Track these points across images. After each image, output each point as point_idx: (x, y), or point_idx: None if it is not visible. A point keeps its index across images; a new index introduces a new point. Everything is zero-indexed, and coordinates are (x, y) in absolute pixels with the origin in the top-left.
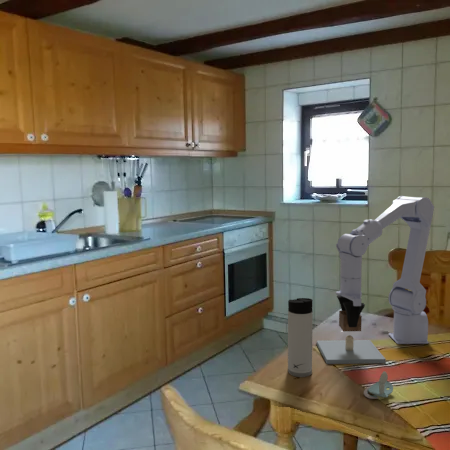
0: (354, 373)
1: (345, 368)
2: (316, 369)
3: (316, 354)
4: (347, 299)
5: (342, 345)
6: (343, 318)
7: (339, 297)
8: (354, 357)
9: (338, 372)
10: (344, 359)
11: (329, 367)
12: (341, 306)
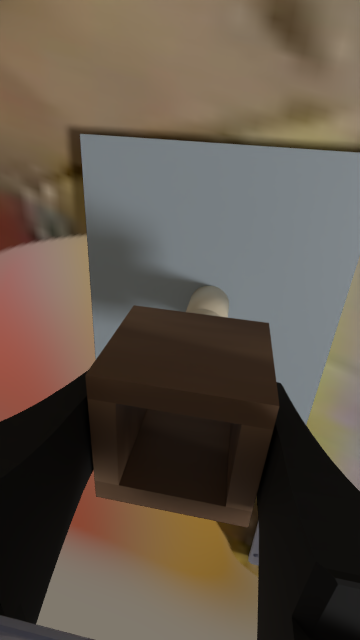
0: (4, 238)
1: (47, 217)
2: (20, 47)
3: (222, 106)
4: (279, 615)
5: (264, 289)
6: (100, 361)
7: (325, 591)
8: (111, 289)
9: (2, 168)
10: (88, 235)
11: (51, 137)
12: (288, 466)
